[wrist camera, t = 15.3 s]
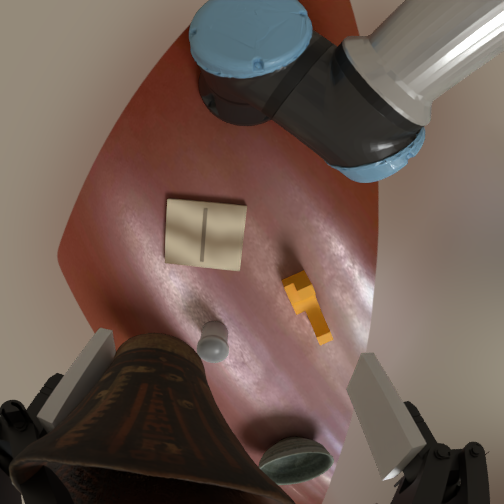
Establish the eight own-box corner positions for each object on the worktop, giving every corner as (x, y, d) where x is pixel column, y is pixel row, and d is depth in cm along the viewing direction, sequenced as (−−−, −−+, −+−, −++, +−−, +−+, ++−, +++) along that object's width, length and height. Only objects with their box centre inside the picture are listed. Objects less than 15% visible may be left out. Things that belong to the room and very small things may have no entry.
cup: (302, 345, 13) (369, 530, 4) (203, 429, 15) (199, 567, 6) (150, 240, 11) (-8, 431, 2) (80, 359, 13) (8, 494, 3)
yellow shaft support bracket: (281, 279, 49) (286, 295, 43) (303, 269, 49) (312, 284, 43) (304, 330, 53) (310, 349, 47) (324, 321, 52) (333, 339, 46)
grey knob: (198, 320, 51) (194, 338, 46) (228, 319, 51) (226, 337, 46) (202, 344, 53) (199, 363, 47) (230, 343, 53) (230, 362, 47)
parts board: (169, 198, 44) (167, 199, 43) (246, 205, 45) (246, 206, 44) (166, 261, 48) (164, 263, 47) (239, 269, 48) (239, 271, 47)
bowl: (253, 428, 62) (254, 458, 52) (332, 419, 62) (340, 447, 52) (256, 462, 68) (257, 488, 58) (322, 455, 68) (328, 479, 58)
